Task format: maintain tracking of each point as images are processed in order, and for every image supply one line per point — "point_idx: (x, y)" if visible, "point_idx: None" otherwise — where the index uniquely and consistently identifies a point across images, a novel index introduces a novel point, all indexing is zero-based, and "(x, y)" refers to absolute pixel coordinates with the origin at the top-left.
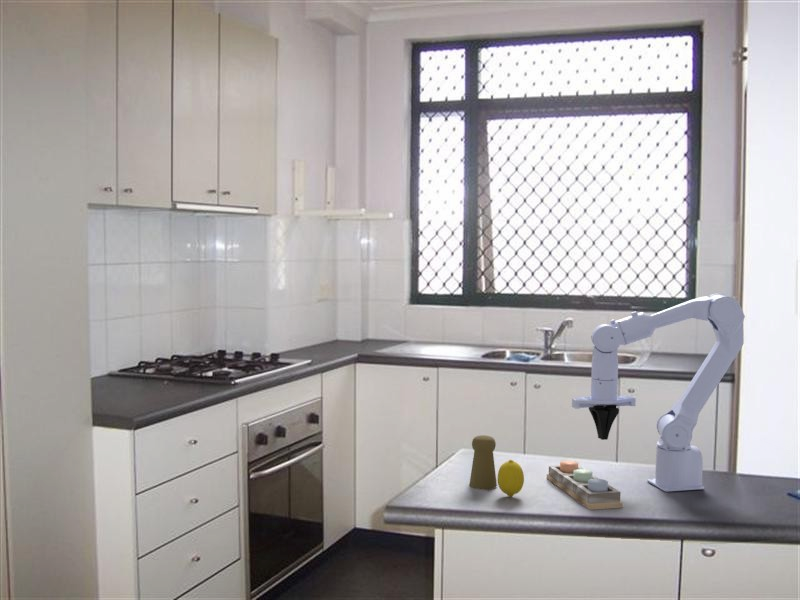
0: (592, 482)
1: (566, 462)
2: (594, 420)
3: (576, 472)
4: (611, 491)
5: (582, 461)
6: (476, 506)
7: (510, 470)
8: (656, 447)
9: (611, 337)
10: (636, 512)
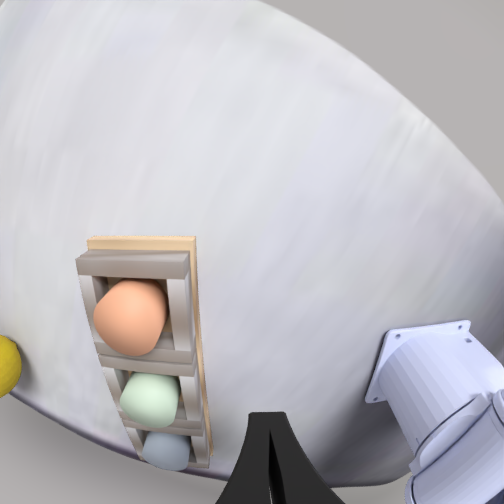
0: (149, 460)
1: (116, 317)
2: (223, 495)
3: (126, 408)
4: (190, 463)
5: (316, 56)
6: None
7: None
8: (431, 425)
9: None
10: (227, 463)
